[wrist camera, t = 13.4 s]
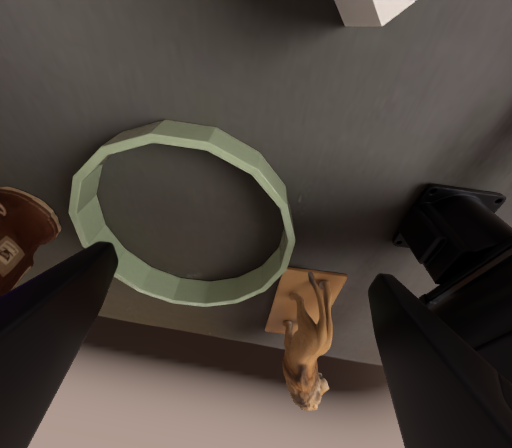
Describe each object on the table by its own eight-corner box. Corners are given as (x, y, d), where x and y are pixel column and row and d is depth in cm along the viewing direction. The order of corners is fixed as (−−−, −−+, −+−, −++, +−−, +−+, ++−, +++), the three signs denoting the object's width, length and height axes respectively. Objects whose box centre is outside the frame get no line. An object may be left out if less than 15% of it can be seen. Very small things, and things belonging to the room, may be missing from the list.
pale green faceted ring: (315, 141, 18) (321, 158, 16) (272, 291, 30) (272, 314, 27) (60, 103, 18) (27, 115, 15) (115, 273, 29) (102, 295, 26)
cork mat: (347, 274, 27) (348, 276, 27) (314, 334, 35) (314, 337, 35) (283, 266, 27) (283, 269, 27) (264, 328, 35) (264, 331, 35)
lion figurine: (319, 338, 35) (331, 416, 28) (280, 337, 35) (283, 415, 28) (333, 266, 26) (357, 356, 19) (281, 267, 26) (286, 355, 19)
